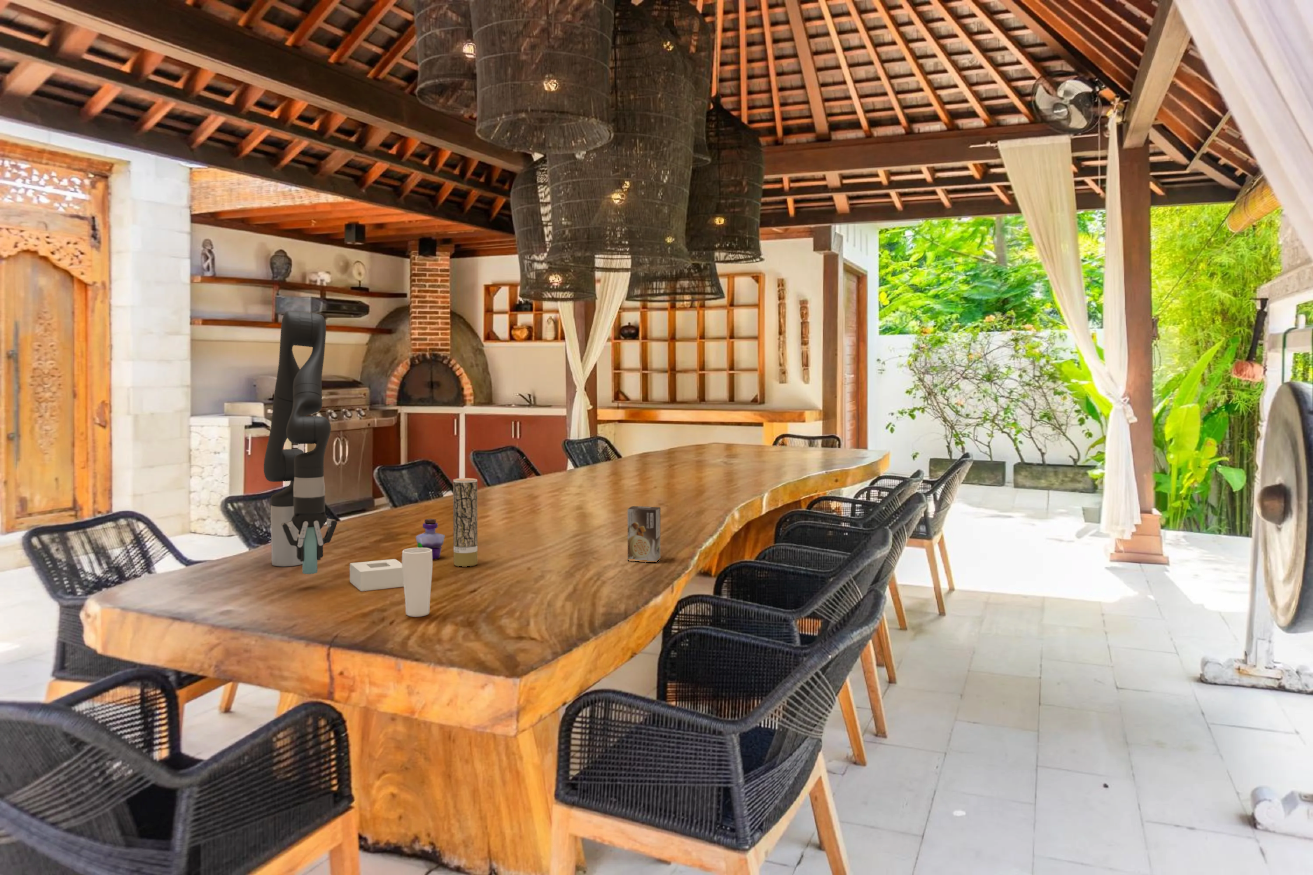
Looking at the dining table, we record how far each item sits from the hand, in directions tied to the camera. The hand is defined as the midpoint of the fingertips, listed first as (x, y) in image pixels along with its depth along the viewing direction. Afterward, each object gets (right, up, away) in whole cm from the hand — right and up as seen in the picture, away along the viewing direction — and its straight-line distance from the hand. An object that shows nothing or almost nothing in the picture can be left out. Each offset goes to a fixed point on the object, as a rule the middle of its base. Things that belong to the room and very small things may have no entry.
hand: (309, 559), depth 234 cm
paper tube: (+34, -6, +30) cm, 46 cm away
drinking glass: (+34, -9, -25) cm, 43 cm away
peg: (0, -3, 0) cm, 3 cm away
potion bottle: (+21, -5, +39) cm, 45 cm away
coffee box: (+86, -6, +39) cm, 94 cm away
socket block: (+16, -7, +5) cm, 18 cm away
